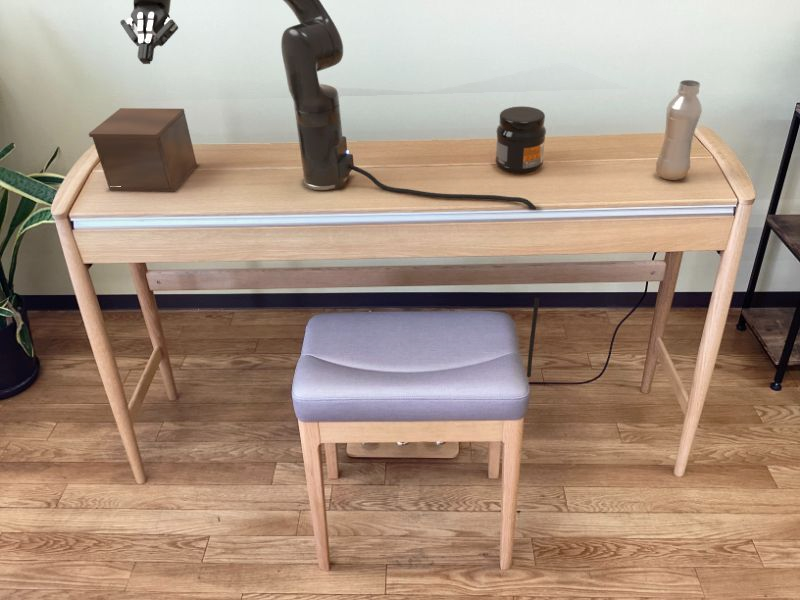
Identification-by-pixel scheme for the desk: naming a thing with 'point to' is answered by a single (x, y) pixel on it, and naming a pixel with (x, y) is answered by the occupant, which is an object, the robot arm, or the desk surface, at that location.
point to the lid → (137, 123)
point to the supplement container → (520, 140)
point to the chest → (148, 160)
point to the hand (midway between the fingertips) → (144, 62)
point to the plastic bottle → (679, 132)
